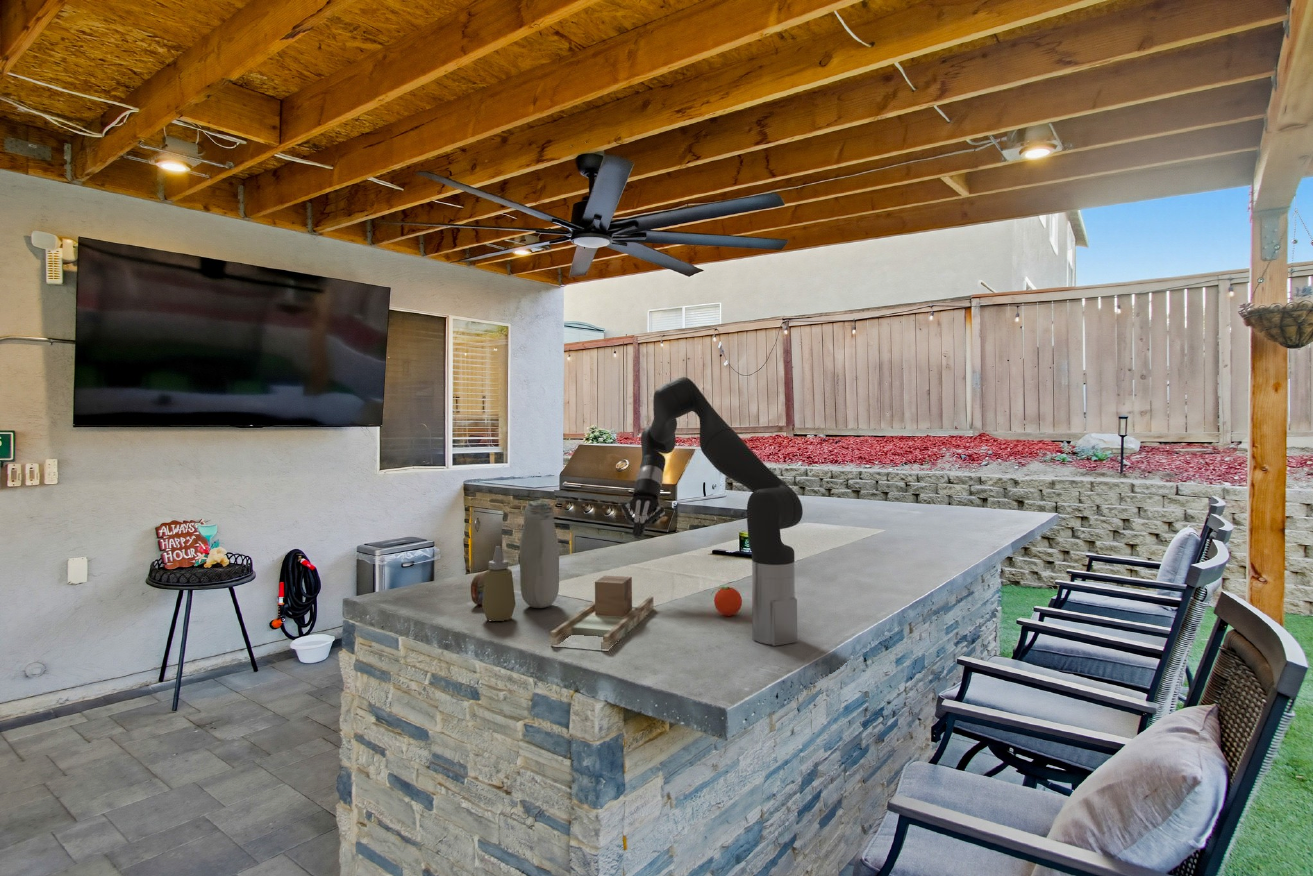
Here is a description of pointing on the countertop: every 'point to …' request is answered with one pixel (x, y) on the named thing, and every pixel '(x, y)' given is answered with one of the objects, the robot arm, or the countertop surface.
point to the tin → (477, 588)
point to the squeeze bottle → (498, 589)
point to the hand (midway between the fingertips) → (637, 537)
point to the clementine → (727, 601)
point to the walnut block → (613, 596)
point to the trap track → (601, 624)
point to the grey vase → (539, 556)
